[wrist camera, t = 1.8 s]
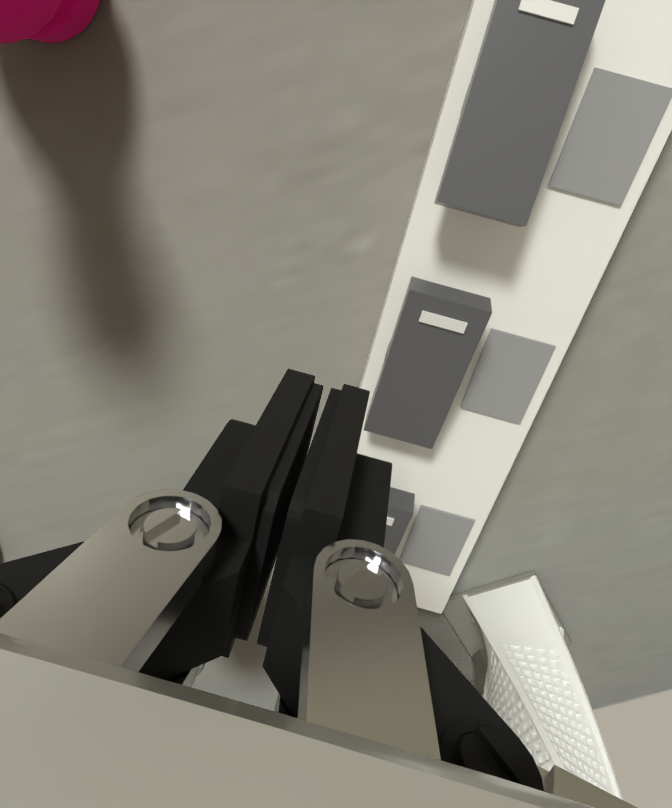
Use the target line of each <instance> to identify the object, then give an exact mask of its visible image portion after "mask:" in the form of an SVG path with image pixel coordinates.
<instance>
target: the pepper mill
mask: <svg viewBox="0 0 672 808" xmlns="http://www.w3.org/2000/svg"><path fill="white" fill-rule="evenodd" d="M99 2H100V0H0V43H14V42H17V41H20V40H23V39H26V38H28V39H32V40H37V41H41V42H47V43H58V42H63V41H66V40H69V39H71V38H73V37H75V36H76V35H78V34H79V33H80V32H82V31H83V30H84V29H85V28H86V27H87V25H88V24H89V23H90V22H91V20H92V18H93V17H94V15H95V13H96V11H97V9H98V6H99Z"/></svg>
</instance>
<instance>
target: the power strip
mask: <svg viewBox="0 0 672 808" xmlns="http://www.w3.org/2000/svg"><path fill="white" fill-rule="evenodd" d="M494 1H495V0H472V2H471V6H470V9H469V13H468V16H467V19H466V23H465V26H464V30H463V33H462V36H461V40H460V43H459V47H458V50H457V54H456V57H455V60H454V64H453V67H452V71H451V74H450V77H449V81H448V84H447V88H446V91H445V95H444V98H443V101H442V105H441V108H440V112H439V115H438V118H437V122H436V125H435V129H434V132H433V136H432V139H431V142H430V146H429V149H428V153H427V156H426V159H425V163H424V166H423V170H422V173H421V177H420V180H419V183H418V187H417V190H416V194H415V197H414V200H413V204H412V207H411V211H410V214H409V218H408V221H407V224H406V228H405V231H404V235H403V238H402V241H401V245H400V248H399V252H398V255H397V259H396V262H395V265H394V269H393V272H392V276H391V279H390V282H389V286H388V289H387V293H386V296H385V300H384V303H383V306H382V310H381V313H380V317H379V320H378V323H377V327H376V330H375V334H374V337H373V341H372V344H371V347H370V351H369V354H368V358H367V361H366V364H365V368H364V371H363V375H362V378H361V382H360V385H359V388H361V389H365V390H369V391H370V394H369V399H368V403H367V408H366V413H365V417H364V422H363V427H362V431H361V436H360V441H359V445H358V450H357V453H358V454H361V455H365V456H368V457H372V458H376V459H379V460H383V461H387V462H390V463H392V474H391V484H390V487H392V488H396V489H399V490H403V491H407V492H410V493H414V494H415V499H414V513H413V515H412V518H411V520H410V522H409V524H408V526H407V529H406V531H405V533H404V535H403V537H402V540H401V542H400V544H399V546H398V548H397V550H396V553H395V556H396V557H397V558H399V559H400V560H401V561H402V563H403V564H404V565H405V567H406V568H407V570H408V571H409V573H410V576H411V579H412V581H413V585H414V591H415V597H416V604H417V607H419V608H422V609H426V610H429V611H433V612H436V613H440V614H442V612H443V610H444V608H445V605H446V603H447V601H448V599H449V597H450V595H451V593H452V591H453V589H454V587H455V584H456V582H457V580H458V578H459V576H460V574H461V572H462V570H463V568H464V566H465V563H466V561H467V559H468V557H469V555H470V553H471V551H472V549H473V547H474V544H475V542H476V540H477V538H478V536H479V534H480V532H481V530H482V528H483V526H484V523H485V521H486V519H487V517H488V515H489V513H490V511H491V509H492V507H493V504H494V502H495V500H496V498H497V496H498V494H499V492H500V490H501V488H502V486H503V483H504V481H505V479H506V477H507V475H508V473H509V471H510V469H511V467H512V465H513V462H514V460H515V458H516V456H517V454H518V452H519V450H520V448H521V446H522V443H523V441H524V439H525V437H526V435H527V433H528V431H529V429H530V427H531V425H532V422H533V420H534V418H535V416H536V414H537V412H538V410H539V408H540V406H541V403H542V401H543V399H544V397H545V395H546V393H547V391H548V389H549V387H550V385H551V382H552V380H553V378H554V376H555V374H556V372H557V370H558V368H559V366H560V363H561V361H562V359H563V357H564V355H565V353H566V351H567V349H568V347H569V345H570V342H571V340H572V338H573V336H574V334H575V332H576V330H577V328H578V326H579V324H580V321H581V319H582V317H583V315H584V313H585V311H586V309H587V307H588V305H589V302H590V300H591V298H592V296H593V294H594V292H595V290H596V288H597V286H598V284H599V281H600V279H601V277H602V275H603V273H604V271H605V269H606V267H607V265H608V262H609V260H610V258H611V256H612V254H613V252H614V250H615V248H616V246H617V244H618V241H619V239H620V237H621V235H622V233H623V231H624V229H625V227H626V225H627V223H628V220H629V218H630V216H631V214H632V212H633V210H634V208H635V206H636V204H637V201H638V199H639V197H640V195H641V193H642V191H643V189H644V187H645V185H646V183H647V180H648V178H649V176H650V174H651V172H652V170H653V168H654V166H655V164H656V161H657V159H658V157H659V155H660V153H661V151H662V149H663V147H664V145H665V143H666V140H667V138H668V136H669V134H670V132H671V130H672V0H606V1H605V3H604V6H603V9H602V12H601V15H600V18H599V21H598V23H597V26H596V29H595V32H594V35H593V38H592V40H591V43H590V46H589V49H588V52H587V55H586V58H585V60H584V63H583V66H582V69H581V72H580V75H579V77H578V80H577V83H576V86H575V89H574V92H573V94H572V97H571V100H570V103H569V106H568V109H567V112H566V114H565V117H564V120H563V123H562V126H561V129H560V131H559V134H558V137H557V140H556V143H555V146H554V148H553V151H552V154H551V157H550V160H549V163H548V166H547V168H546V171H545V174H544V177H543V180H542V183H541V185H540V188H539V191H538V194H537V197H536V200H535V203H534V205H533V208H532V211H531V214H530V217H529V220H528V222H527V225H526V226H522V227H517V226H513V225H510V224H506V223H502V222H499V221H495V220H491V219H488V218H484V217H481V216H477V215H473V214H470V213H466V212H462V211H459V210H455V209H452V208H448V207H444V206H441V205H437V204H434V202H435V198H436V195H437V192H438V188H439V185H440V182H441V178H442V175H443V172H444V168H445V165H446V162H447V158H448V155H449V151H450V148H451V145H452V141H453V138H454V135H455V131H456V128H457V125H458V121H459V118H460V113H461V109H462V105H463V102H464V99H465V95H466V92H467V89H468V87H469V84H470V81H471V78H472V75H473V71H474V68H475V65H476V61H477V58H478V54H479V51H480V48H481V44H482V41H483V38H484V34H485V31H486V28H487V24H488V21H489V18H490V14H491V11H492V8H493V4H494ZM411 276H412V277H416V278H419V279H423V280H427V281H430V282H434V283H437V284H441V285H445V286H448V287H452V288H456V289H459V290H463V291H466V292H470V293H474V294H477V295H481V296H484V297H488V298H490V299H491V307H492V314H491V317H490V319H489V321H488V323H487V326H486V328H485V330H484V332H483V335H482V337H481V339H480V342H479V344H478V346H477V348H476V351H475V353H474V355H473V357H472V360H471V362H470V364H469V367H468V369H467V371H466V373H465V376H464V378H463V380H462V382H461V385H460V387H459V389H458V392H457V394H456V396H455V398H454V401H453V403H452V405H451V407H450V410H449V412H448V414H447V417H446V419H445V421H444V423H443V426H442V428H441V430H440V432H439V435H438V437H437V439H436V441H435V444H434V446H433V448H432V449H429V448H425V447H422V446H418V445H415V444H411V443H407V442H404V441H400V440H397V439H393V438H390V437H386V436H382V435H379V434H375V433H372V432H368V431H364V426H365V421H366V416H367V412H368V409H369V406H370V403H371V400H372V397H373V394H374V391H375V388H376V384H377V381H378V378H379V375H380V372H381V369H382V366H383V363H384V359H385V355H386V352H387V348H388V345H389V342H390V340H391V338H392V335H393V332H394V329H395V326H396V322H397V319H398V316H399V313H400V310H401V307H402V304H403V301H404V298H405V295H406V291H407V288H408V285H409V282H410V279H411Z"/></svg>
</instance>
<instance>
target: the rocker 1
mask: <svg viewBox="0 0 672 808" xmlns="http://www.w3.org/2000/svg"><path fill="white" fill-rule="evenodd" d="M414 499H415V494H414V493H410V492H407V491H403V490H399V489H396V488H392V487H390V493H389V503H388V513H387V522H386V532H385V542H384V548H385V549H387V550H389V551H390V552H391V553H393V554H394V555H395V553H396V550H397V548H398V546H399V544H400V542H401V540H402V537H403V535H404V533H405V531H406V529H407V526H408V524H409V522H410V520H411V518H412V515H413V513H414Z"/></svg>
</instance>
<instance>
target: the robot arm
mask: <svg viewBox="0 0 672 808" xmlns="http://www.w3.org/2000/svg"><path fill="white" fill-rule="evenodd" d="M314 380H315V376H313V375H310V374H306V373H302V372H298V371H295V370H291V369H288V370H287V371H286V373H285V375H284V377H283V378H282V380H281V382H280V384H279V386H278V387H277V389H276V391H275V393H274V394H273V396H272V398H271V400H270V401H269V403H268V405H267V407H266V409H265V410H264V412H263V414H262V416H261V417H260V419H259V421H258V423H257V424H256V426H255V425H252V424H248V423H244V422H241V421H237V420H233V419H232V420H230V421H229V422H228V423H227V425H226V426H225V428H224V429H223V431H222V432H221V434H220V435H219V437H218V438H217V440H216V441H215V443H214V444H213V446H212V447H211V449H210V450H209V452H208V453H207V455H206V456H205V458H204V459H203V461H202V462H201V464H200V465H199V467H198V468H197V470H196V471H195V473H194V474H193V476H192V477H191V479H190V480H189V482H188V483H187V485H186V486H185V488H184V489H183V490H173V489H164V490H156V491H151V492H148V493H145V494H142V495H139V496H137V497H136V498H134V499H133V500H131V501H130V502H128V503H127V504H125V505H124V506H123V507H122V508H121V509H120V510H119V511H118V512H117V513H116V514H114V515H113V516H112V517H111V518H110V519H109V520H108V521H107V522H106V523H105V524H104V525H102V526H101V527H100V528H99V529H98V530H97V531H96V532H95V533H94V534H93V535H91V536H90V537H89V538H88V539H87V540H86V541H84V542H80V543H77V544H73V545H69V546H65V547H62V548H58V549H54V550H50V551H47V552H43V553H39V554H36V555H32V556H28V557H24V558H21V559H17V560H13V561H9V562H6V563H2V564H0V808H637V807H635V806H633V805H631V804H629V803H627V802H625V801H623V800H622V799H620V798H618V797H616V796H614V795H612V794H610V793H608V792H606V791H604V790H602V789H600V788H599V787H597V786H595V785H593V784H591V783H589V782H587V781H585V780H583V779H581V778H579V777H577V776H576V775H574V774H572V773H570V772H568V771H566V770H564V769H562V768H560V767H558V766H556V765H554V766H553V767H552V769H551V770H550V771H547V770H545V769H543V768H541V767H539V766H537V765H536V763H535V761H534V758H533V756H532V755H531V754H530V752H529V751H528V749H527V748H526V747H525V745H524V744H523V742H522V741H521V740H520V738H519V737H518V736H517V735H516V734H515V733H514V732H513V731H512V729H511V728H510V727H509V726H508V725H507V724H506V723H505V722H504V720H503V719H502V718H501V717H500V716H499V715H498V714H497V713H496V711H495V710H494V709H493V708H492V707H491V706H490V705H489V703H488V702H487V701H486V700H485V699H484V698H483V697H482V696H481V694H480V693H479V692H478V691H477V690H476V689H475V688H474V687H473V685H472V684H471V683H470V682H469V681H468V680H467V679H466V678H465V676H464V675H463V674H462V673H461V672H460V671H459V670H458V668H457V667H456V666H455V665H454V664H453V663H452V662H451V661H450V659H449V658H448V657H447V656H446V655H445V654H444V653H443V652H442V650H441V649H440V648H439V647H438V646H437V645H436V644H435V643H434V641H433V640H432V639H431V638H430V637H429V636H428V635H427V634H426V632H425V631H424V630H423V629H422V628H421V627H420V623H419V617H418V610H417V604H416V597H415V591H414V585H413V581H412V579H411V576H410V573H409V571H408V570H407V568H406V567H405V565H404V564H403V563H402V561H401V560H400V559H399V558H397V557H396V556H395V555H394V554H393V553H391V552H390V551H389V550H387V549H385V548H384V542H385V532H386V522H387V513H388V503H389V493H390V484H391V474H392V463H390V462H387V461H383V460H379V459H376V458H372V457H368V456H365V455H361V454H358V453H357V450H358V445H359V441H360V436H361V431H362V427H363V422H364V417H365V413H366V408H367V403H368V399H369V394H370V391H369V390H365V389H361V388H358V387H354V386H350V385H346V384H344V385H343V388H342V391H341V390H337V389H334V388H331V391H330V393H329V396H328V399H327V402H326V405H325V407H324V410H323V413H322V416H321V418H320V421H319V424H318V427H317V429H316V432H315V435H314V438H313V440H312V443H311V446H310V449H309V445H310V441H311V437H312V432H313V428H314V424H315V420H316V416H317V412H318V407H319V403H320V399H321V395H322V390H323V385H319V384H315V383H314ZM308 449H309V451H308ZM307 453H308V454H307ZM277 554H278V555H277ZM276 557H277V559H276ZM275 560H276V564H275V568H274V572H273V576H272V581H271V585H270V589H269V594H268V598H267V602H266V606H265V611H264V615H263V619H262V624H261V628H260V632H259V636H258V641H257V644H259V645H263V646H266V647H267V651H266V655H265V659H264V663H263V668H264V669H265V671H266V673H267V674H268V676H269V678H270V679H271V681H272V683H273V684H274V686H275V688H276V689H277V691H278V692H279V693H278V697H277V701H276V704H275V711H270V710H267V709H264V708H260V707H257V706H253V705H250V704H246V703H243V702H239V701H236V700H232V699H229V698H225V697H222V696H219V695H215V694H212V693H208V692H205V691H201V690H198V689H194V688H191V686H192V685H193V683H194V681H195V678H196V676H197V674H198V671H199V666H200V665H202V664H204V663H206V662H209V661H211V660H213V659H215V658H218V657H220V656H224V657H227V658H228V657H229V655H230V652H231V649H232V647H233V644H234V641H235V639H236V638H238V639H242V640H245V641H247V640H248V638H249V635H250V632H251V629H252V626H253V623H254V621H255V618H256V615H257V612H258V609H259V606H260V603H261V600H262V597H263V595H264V592H265V589H266V586H267V583H268V580H269V577H270V574H271V572H272V569H273V566H274V563H275Z"/></svg>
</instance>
